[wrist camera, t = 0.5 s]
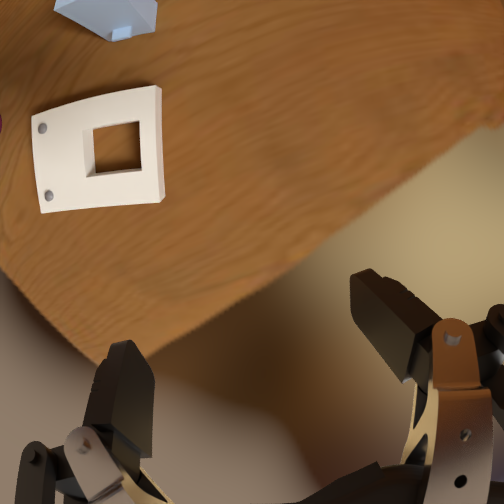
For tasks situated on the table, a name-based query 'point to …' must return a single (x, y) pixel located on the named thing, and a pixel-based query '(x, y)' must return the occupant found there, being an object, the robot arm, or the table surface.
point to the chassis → (82, 152)
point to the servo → (111, 16)
